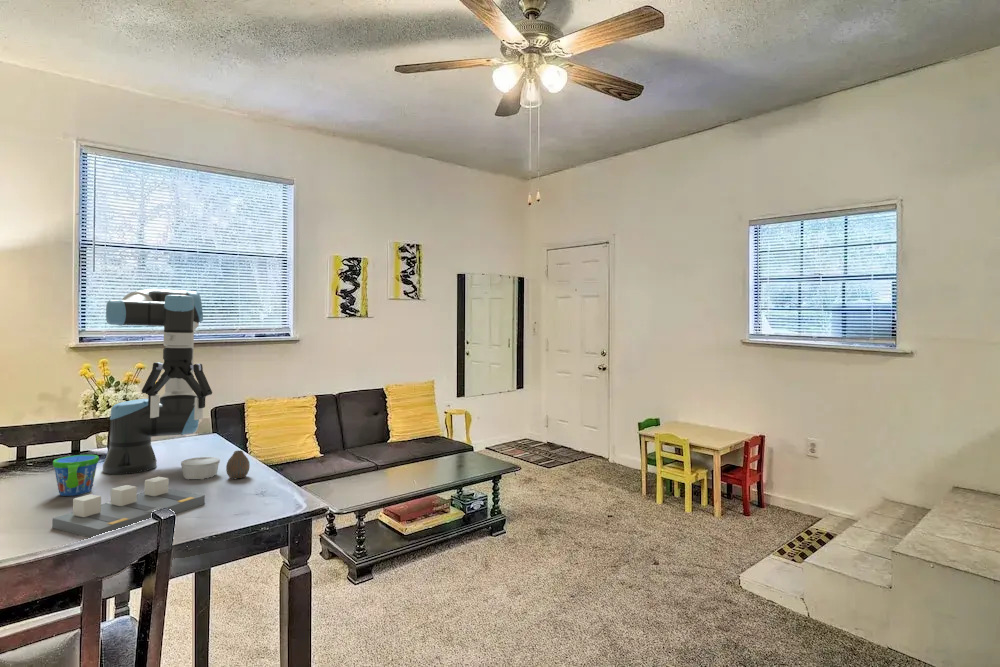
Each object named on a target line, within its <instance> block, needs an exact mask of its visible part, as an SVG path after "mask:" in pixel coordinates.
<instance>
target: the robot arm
mask: <svg viewBox="0 0 1000 667" xmlns="http://www.w3.org/2000/svg"><path fill="white" fill-rule="evenodd" d="M105 318H106V323H107V324H108V325H111V326H146V327H147V326H149V327H163V346H165V347H163V350H162V359H163V360H164V361H163V362H161V361H158V362H153V364H152V367H151V368H152V370H151V372H150V374H149V376H148V378H147V379H146V381H145V383H144V385H143V387H142V389H141V393H142V394H145V395H147V396H148V397H147V398H141V399H140V398H139V399H133V400H127V401H121V402H118V403H116V404H114V405H113V406H112V407H111V409H110V417H109V421H110V427H109V431H110V432H109V449H108V451H107V454H106V456H105V459H104V462H103V464H102V473H105V474H110V475H127V474H128V475H129V474H137V473H142V472H146V471H149V470H153V469H154V468H156V467H157V458H156V455H155V452H154V451H155V450H154V449H153V446H152V437H153V438H154V437H166V436H168V437H169V436H184V435H191V434H192V435H193V434H195V433H196V432H197V431H198V429H199V428H198V427H199V422H200V420H202V419H203V412H204V411H203V410H204V408H206V397H208V396H212V394H213V390H212V389H211V386H210V385H209V382H208V380H207V377H206V375H205V373H204V369H203V368H204V367H203V364H202V363H195V364H194V349H195V348H194V347H195V342H194V341H195V340H194V338H195V330H196V329H197V328H199V326H200V325H199V323H201V322H203V321H204V312H203V303H202V298H201V295H200V293H199V292H198V291H193V290H192V291H191V290H187V289H185V290H179V289H162V288H159V289H158V288H146V289H140V290H135V291H132V292H130V293H128V294H126V295H125V296H123V297H122V299H109V300H108V301H107V303H106V306H105ZM162 371H164V372H163V373H162V374H161V372H162ZM160 374H161V375H160ZM159 376H160V377H159ZM163 387H164V393H163V394H162V395H161V396H160V394H159V392H160V391H161V390H162V388H163Z"/></svg>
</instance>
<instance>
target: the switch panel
mask: <svg viewBox="0 0 1000 667" xmlns="http://www.w3.org/2000/svg"><path fill="white" fill-rule="evenodd" d="M144 493H145V491H144V492H139V493H137V502H134V503H131V504H127V505H124V506H117V505H113V504H111V500H110V501H108V502H105V503H101V512H100V513H97V514H93V515H90V516H87V517H80V516H75V515H73V511H72V512H69V513H65V514H62V515H57V516H56V517H52V522H51V523H52V524H51V527H52V529H54V530H59V531H63V532H67V533H69V534H70V533H71V534H75V535H79V536H82V537H85V538H86V537H87V538H90V537H93V536H96V535H99V534H102V533H105V532H108V531H112V530H116V529H118V528H122V527H125V526H128V525H131V524H133V523H137V522H139V521H142V520H146V519H149V518H151V513H152V511H154V510H158V509H162V508H168V509H171V510H172V511H174V512H175V513H176V514H179V513H182V512H184V511H188V510H190V509H193V508H197V507H199V506H201V505H202V506H203V505H205V502H206V501H205V500H206V499H205V498H206V495H205V494H200V493H195V492H188V491H184V490H178V489H173V488H170V487H168V493H165V494H161V495H158V496H150V495H145V494H144Z"/></svg>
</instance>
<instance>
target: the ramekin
mask: <svg viewBox="0 0 1000 667" xmlns="http://www.w3.org/2000/svg"><path fill="white" fill-rule="evenodd" d="M220 462H221V460H220V458H218V457H214V456H200V457H194V458H193V457H191V458H188V459H184V460H183V461H181V462H180V466H181V470H182V476H183V478H185V479H186V480H189V479H201V480H205V479H204V478H207V479H210V478H209V477H211V478H213V477H212V476H214V475H215V476H216V475H217V473H218V470H219V466H220ZM215 476H214V477H215Z"/></svg>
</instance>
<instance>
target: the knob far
mask: <svg viewBox="0 0 1000 667" xmlns="http://www.w3.org/2000/svg"><path fill="white" fill-rule="evenodd" d="M168 488H169V477H164V476H163V477H162V476H156V477H152V478H148V479H145V480H144V492H145V493H144V494H145V495H150V496H158V495H161V494H165V493H168Z"/></svg>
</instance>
